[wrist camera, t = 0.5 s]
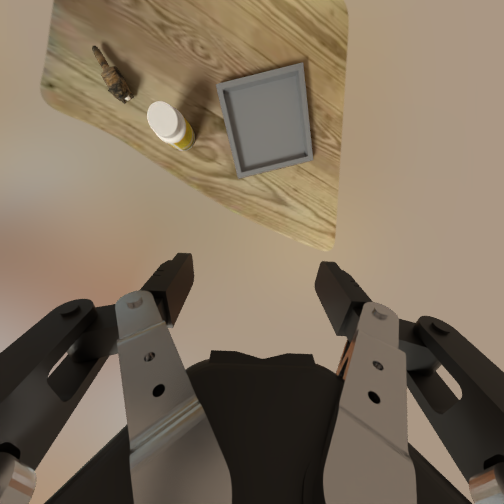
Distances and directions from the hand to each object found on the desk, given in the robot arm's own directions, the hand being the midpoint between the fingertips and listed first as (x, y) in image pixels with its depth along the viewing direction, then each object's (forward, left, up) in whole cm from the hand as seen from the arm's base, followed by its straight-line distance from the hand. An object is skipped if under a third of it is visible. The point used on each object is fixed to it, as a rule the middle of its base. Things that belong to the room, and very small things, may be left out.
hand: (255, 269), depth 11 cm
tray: (-14, +8, -27) cm, 31 cm away
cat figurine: (-25, -15, -28) cm, 40 cm away
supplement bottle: (-16, -7, -28) cm, 33 cm away
